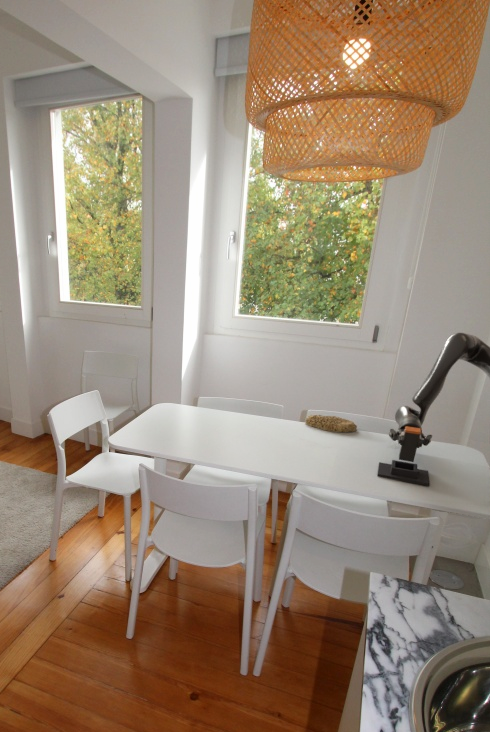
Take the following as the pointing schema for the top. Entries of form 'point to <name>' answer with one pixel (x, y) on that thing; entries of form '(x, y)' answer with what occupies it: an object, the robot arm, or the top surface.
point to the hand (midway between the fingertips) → (410, 443)
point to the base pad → (403, 472)
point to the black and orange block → (409, 444)
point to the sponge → (331, 423)
